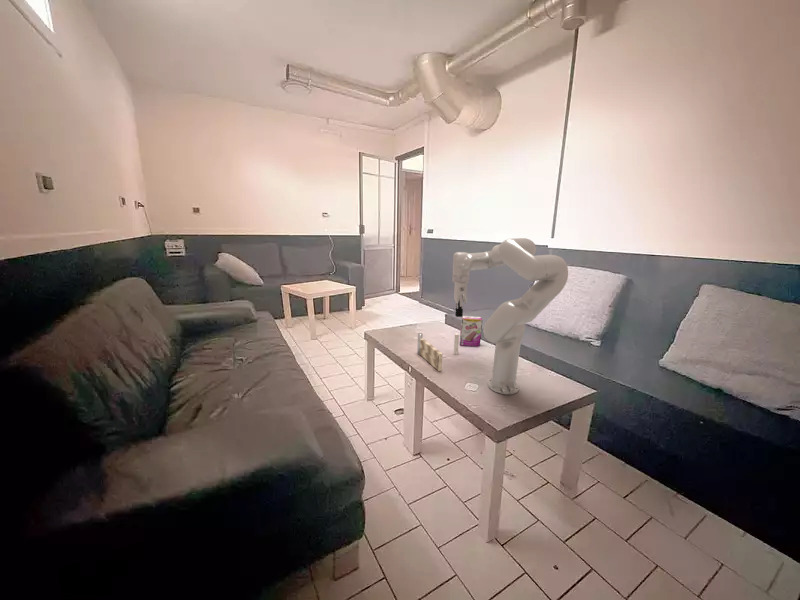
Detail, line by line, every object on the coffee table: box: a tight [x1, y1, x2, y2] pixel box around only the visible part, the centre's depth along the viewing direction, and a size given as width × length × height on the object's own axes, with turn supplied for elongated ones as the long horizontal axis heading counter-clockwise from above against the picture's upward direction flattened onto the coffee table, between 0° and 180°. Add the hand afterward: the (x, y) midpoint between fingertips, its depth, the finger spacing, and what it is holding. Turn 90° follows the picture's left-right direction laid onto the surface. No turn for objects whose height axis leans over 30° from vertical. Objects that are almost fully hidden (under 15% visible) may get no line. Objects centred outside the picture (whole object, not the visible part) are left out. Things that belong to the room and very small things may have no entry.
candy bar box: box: [459, 315, 483, 347], centre depth 176 cm, size 11×5×16 cm, turn 84°
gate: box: [419, 338, 443, 372], centre depth 154 cm, size 20×2×8 cm, turn 23°
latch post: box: [453, 332, 460, 355], centre depth 165 cm, size 2×2×11 cm
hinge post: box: [416, 332, 424, 356], centre depth 164 cm, size 2×2×11 cm
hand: (458, 316), depth 152 cm, fingers closed
